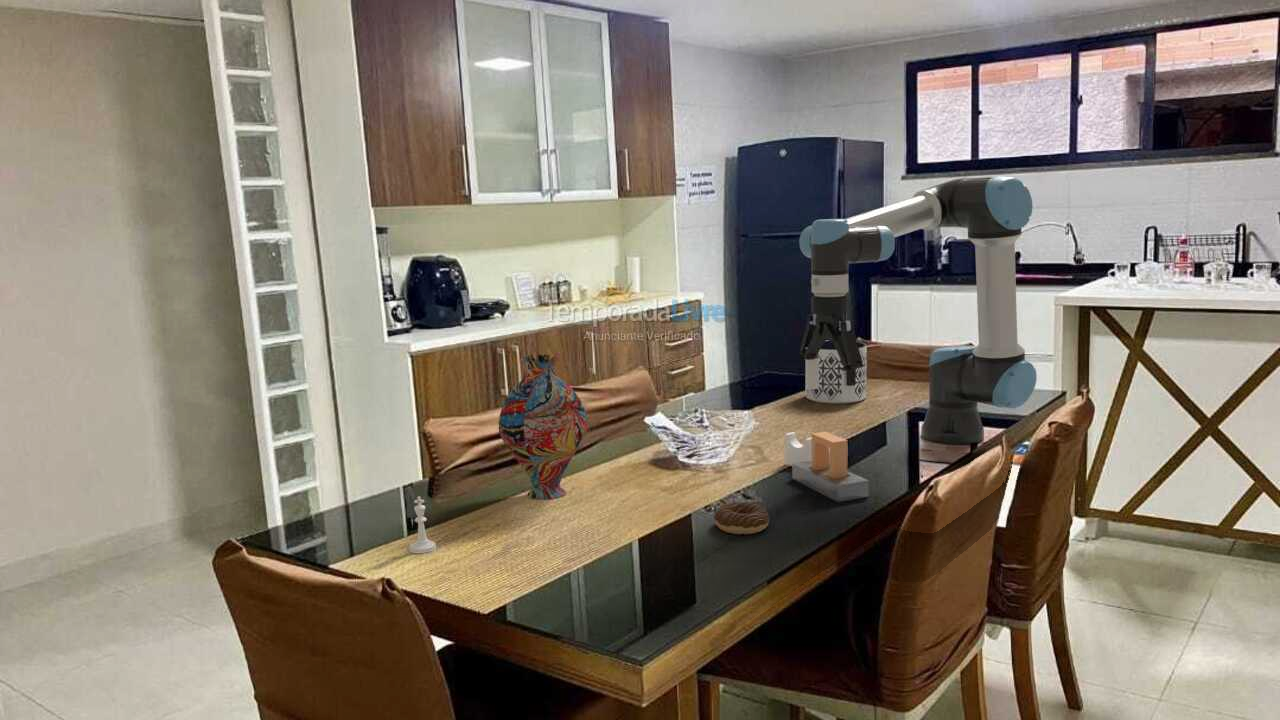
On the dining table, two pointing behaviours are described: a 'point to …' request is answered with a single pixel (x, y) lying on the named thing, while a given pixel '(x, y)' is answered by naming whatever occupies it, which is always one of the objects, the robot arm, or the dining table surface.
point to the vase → (543, 425)
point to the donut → (741, 518)
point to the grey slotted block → (830, 482)
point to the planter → (836, 376)
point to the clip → (829, 454)
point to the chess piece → (421, 532)
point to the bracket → (797, 449)
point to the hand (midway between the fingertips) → (829, 394)
